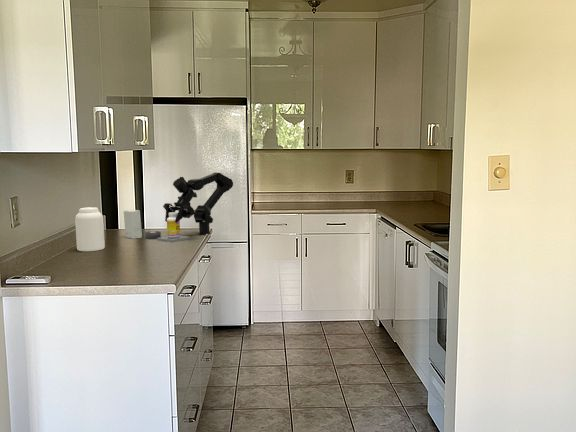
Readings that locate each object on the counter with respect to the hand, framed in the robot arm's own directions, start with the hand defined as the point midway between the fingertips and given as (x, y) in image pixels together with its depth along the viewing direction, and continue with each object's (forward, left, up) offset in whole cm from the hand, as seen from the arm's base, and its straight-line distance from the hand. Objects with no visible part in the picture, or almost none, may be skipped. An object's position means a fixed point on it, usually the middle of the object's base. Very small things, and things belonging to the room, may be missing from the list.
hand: (170, 221), depth 280 cm
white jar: (+17, -37, -10) cm, 42 cm away
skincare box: (-14, -20, -10) cm, 26 cm away
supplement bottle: (-1, +1, -9) cm, 9 cm away
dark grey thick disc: (-10, -10, -10) cm, 17 cm away
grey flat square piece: (-1, +1, -10) cm, 10 cm away
